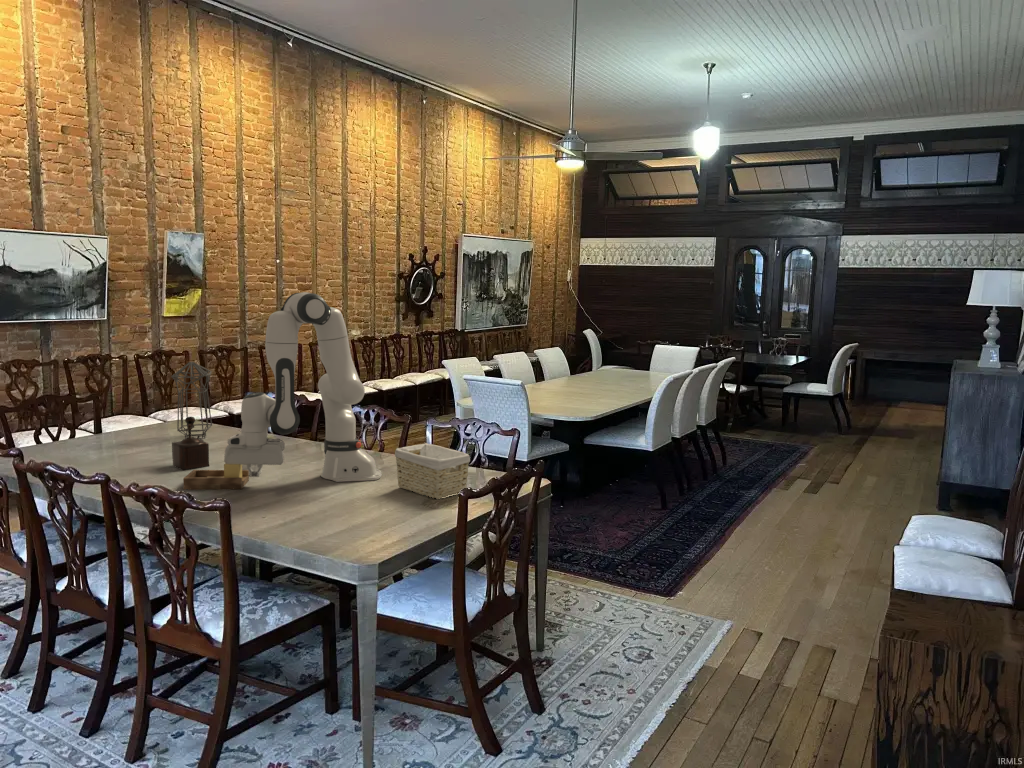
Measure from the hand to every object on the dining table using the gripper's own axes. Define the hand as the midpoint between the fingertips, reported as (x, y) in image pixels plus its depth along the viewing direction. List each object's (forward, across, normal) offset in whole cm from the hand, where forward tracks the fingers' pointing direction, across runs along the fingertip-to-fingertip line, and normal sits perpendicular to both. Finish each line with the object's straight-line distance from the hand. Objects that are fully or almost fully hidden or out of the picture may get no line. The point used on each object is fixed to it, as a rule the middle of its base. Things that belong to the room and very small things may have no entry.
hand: (254, 476), depth 270 cm
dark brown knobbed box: (+4, +31, -30) cm, 44 cm away
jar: (+3, +5, -19) cm, 20 cm away
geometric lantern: (+3, +44, -82) cm, 94 cm away
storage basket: (+3, -63, +7) cm, 63 cm away
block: (+1, +7, 0) cm, 7 cm away
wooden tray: (+3, +12, 0) cm, 13 cm away
